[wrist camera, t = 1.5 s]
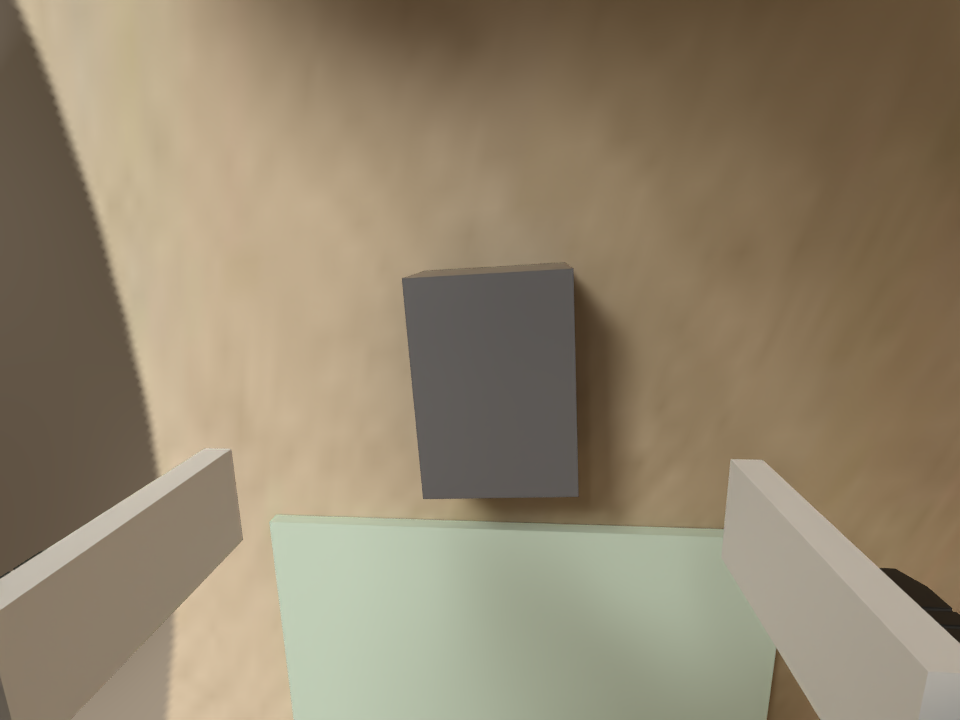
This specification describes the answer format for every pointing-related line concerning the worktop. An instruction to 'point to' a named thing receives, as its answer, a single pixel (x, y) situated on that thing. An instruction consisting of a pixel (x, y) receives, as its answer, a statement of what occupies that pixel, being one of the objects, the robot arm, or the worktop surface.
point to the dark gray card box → (494, 380)
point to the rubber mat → (514, 622)
